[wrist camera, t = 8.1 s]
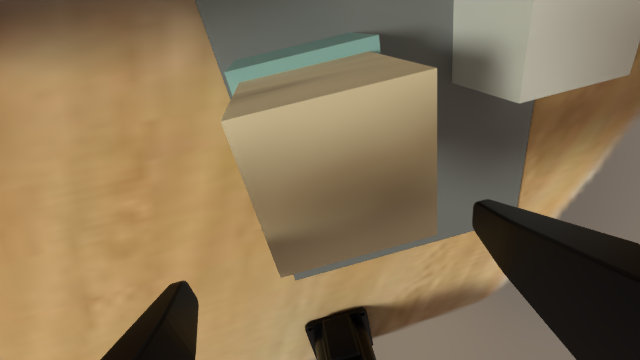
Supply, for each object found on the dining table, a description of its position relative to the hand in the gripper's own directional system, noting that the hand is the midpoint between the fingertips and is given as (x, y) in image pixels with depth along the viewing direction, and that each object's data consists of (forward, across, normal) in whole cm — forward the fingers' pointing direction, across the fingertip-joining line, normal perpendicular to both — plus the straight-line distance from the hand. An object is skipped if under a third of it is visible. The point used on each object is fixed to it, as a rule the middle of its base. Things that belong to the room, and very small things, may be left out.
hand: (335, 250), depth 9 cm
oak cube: (+7, -1, -1) cm, 7 cm away
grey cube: (+12, -14, -4) cm, 19 cm away
